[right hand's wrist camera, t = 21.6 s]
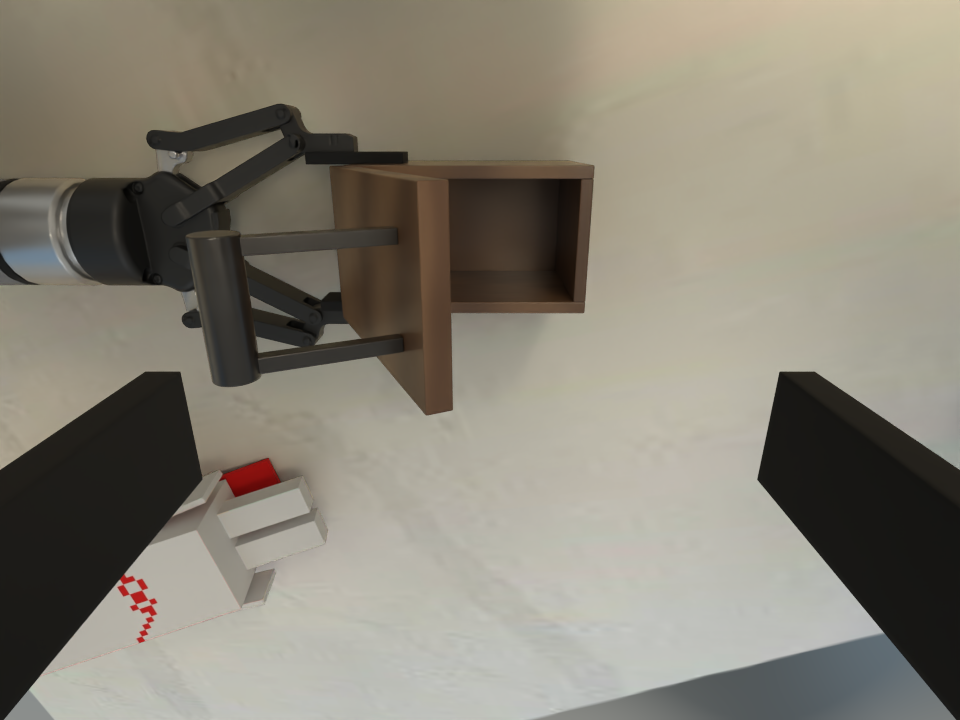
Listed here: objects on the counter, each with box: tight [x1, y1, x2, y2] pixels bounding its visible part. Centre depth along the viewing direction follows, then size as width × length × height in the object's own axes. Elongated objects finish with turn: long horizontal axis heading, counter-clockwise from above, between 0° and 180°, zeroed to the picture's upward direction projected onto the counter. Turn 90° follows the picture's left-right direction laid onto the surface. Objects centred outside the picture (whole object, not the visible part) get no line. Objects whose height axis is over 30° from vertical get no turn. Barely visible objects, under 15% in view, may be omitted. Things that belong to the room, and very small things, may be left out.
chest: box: [344, 161, 594, 313], centre depth 41 cm, size 16×10×11 cm, turn 90°
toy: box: [40, 458, 328, 676], centre depth 52 cm, size 12×13×30 cm
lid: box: [185, 166, 453, 415], centre depth 27 cm, size 16×10×9 cm
